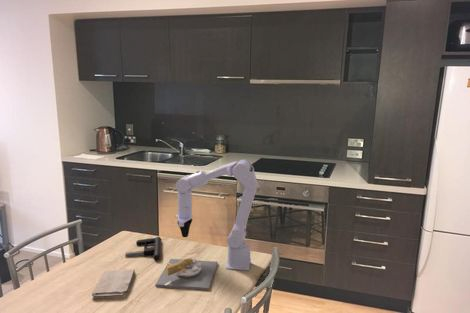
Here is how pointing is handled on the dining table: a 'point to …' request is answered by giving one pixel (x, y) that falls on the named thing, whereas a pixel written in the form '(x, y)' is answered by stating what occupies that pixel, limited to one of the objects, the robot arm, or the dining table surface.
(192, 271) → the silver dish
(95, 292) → the washcloth
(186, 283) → the nut board
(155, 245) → the door handle
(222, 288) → the dining table surface
